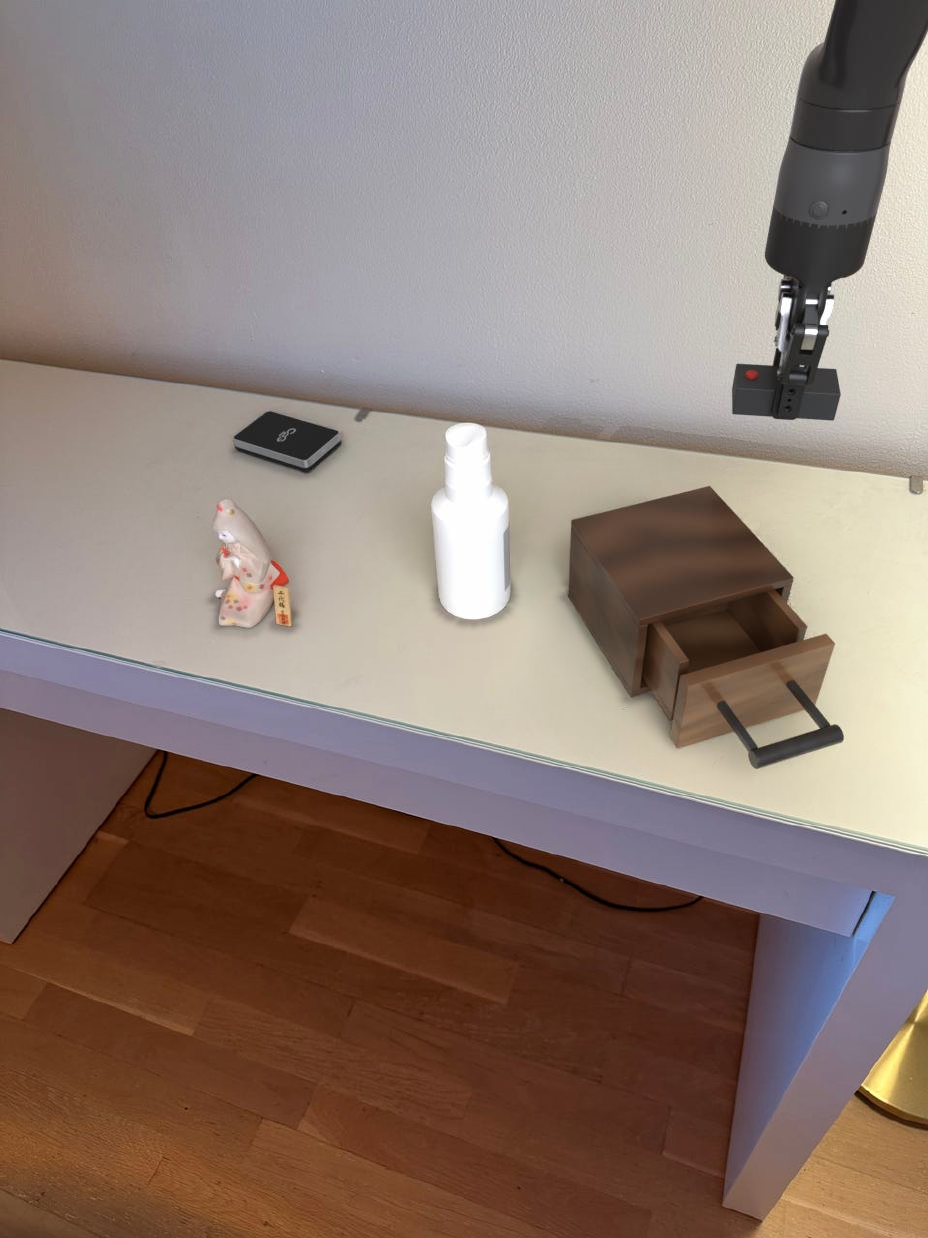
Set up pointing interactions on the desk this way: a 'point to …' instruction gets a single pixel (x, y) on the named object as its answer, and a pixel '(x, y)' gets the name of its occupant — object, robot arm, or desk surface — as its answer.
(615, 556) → the cabinet
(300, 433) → the external hard drive
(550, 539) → the desk surface
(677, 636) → the drawer
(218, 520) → the figurine
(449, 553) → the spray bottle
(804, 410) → the remote
